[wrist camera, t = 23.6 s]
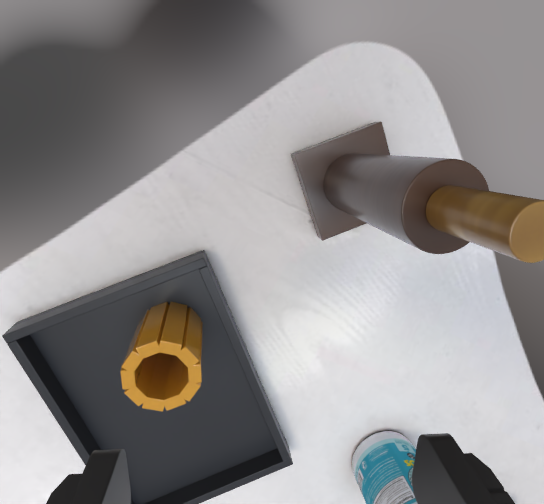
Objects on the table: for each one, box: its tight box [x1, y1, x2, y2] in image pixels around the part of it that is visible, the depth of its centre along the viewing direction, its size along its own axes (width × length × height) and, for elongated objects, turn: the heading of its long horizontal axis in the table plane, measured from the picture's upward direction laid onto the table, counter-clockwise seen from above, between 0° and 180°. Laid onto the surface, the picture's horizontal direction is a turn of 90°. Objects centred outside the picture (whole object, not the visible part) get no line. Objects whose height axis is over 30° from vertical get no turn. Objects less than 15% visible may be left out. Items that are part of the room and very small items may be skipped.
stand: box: [291, 122, 544, 263], centre depth 25 cm, size 8×8×22 cm
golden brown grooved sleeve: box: [120, 302, 203, 411], centre depth 33 cm, size 6×6×8 cm
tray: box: [3, 250, 293, 504], centre depth 37 cm, size 24×18×3 cm
